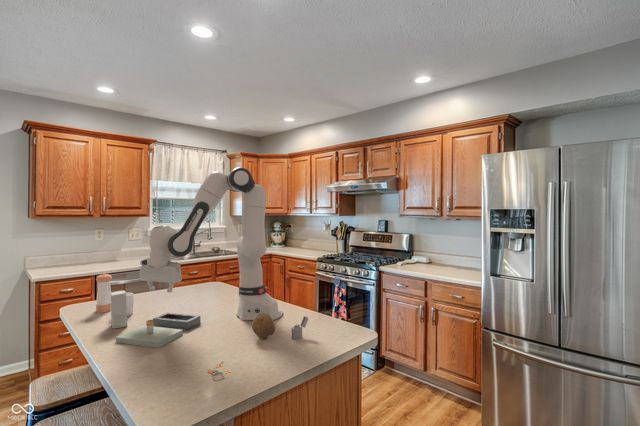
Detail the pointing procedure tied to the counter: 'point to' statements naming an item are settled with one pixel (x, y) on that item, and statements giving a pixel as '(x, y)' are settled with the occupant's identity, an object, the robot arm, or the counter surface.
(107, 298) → the pepper shaker
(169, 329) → the plate
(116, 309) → the skincare box
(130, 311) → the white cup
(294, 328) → the lighter
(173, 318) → the grey rectangular frame
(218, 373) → the key chain
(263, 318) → the natural sponge
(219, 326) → the counter surface
